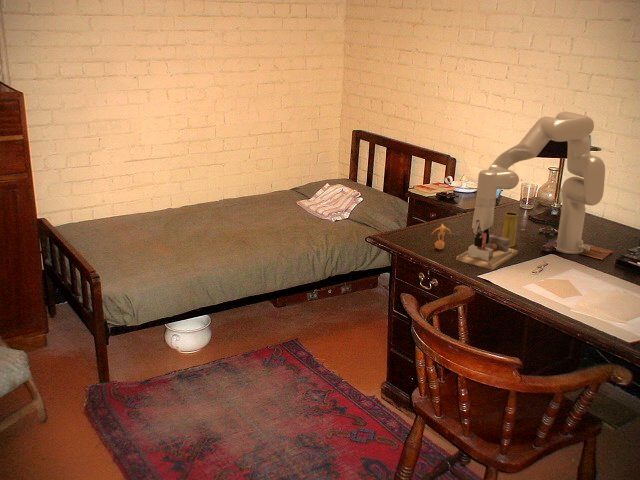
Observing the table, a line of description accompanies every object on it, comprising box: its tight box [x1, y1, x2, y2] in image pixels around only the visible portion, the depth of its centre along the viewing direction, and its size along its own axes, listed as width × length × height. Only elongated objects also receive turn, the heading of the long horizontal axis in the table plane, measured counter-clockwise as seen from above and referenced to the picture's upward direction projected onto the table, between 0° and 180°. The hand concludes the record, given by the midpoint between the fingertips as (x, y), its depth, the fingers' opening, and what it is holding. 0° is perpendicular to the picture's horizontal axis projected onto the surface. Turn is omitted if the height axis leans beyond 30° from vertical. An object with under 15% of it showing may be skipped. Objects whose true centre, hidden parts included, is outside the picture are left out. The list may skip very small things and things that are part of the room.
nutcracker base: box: [455, 234, 519, 271], centre depth 272 cm, size 16×24×6 cm, turn 141°
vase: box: [501, 211, 519, 248], centre depth 285 cm, size 6×6×14 cm
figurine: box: [431, 223, 452, 251], centre depth 278 cm, size 8×6×12 cm
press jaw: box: [467, 231, 494, 261], centre depth 266 cm, size 9×4×10 cm, turn 50°
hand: (481, 244), depth 265 cm, fingers open, 5 cm apart
